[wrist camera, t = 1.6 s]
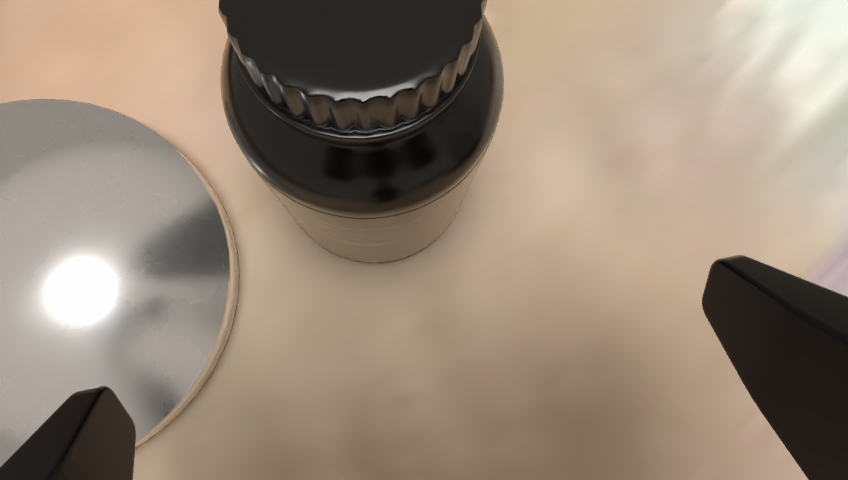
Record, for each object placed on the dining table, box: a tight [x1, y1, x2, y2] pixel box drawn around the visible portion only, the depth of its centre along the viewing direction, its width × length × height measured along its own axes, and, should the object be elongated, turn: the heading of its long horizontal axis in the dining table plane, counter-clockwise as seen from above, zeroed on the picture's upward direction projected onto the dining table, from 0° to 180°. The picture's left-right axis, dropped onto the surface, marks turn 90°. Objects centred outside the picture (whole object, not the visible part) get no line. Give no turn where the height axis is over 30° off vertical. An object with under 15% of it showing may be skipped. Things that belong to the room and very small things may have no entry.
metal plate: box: [0, 99, 239, 467], centre depth 19 cm, size 13×13×2 cm
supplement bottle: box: [219, 0, 504, 263], centre depth 15 cm, size 7×7×12 cm
